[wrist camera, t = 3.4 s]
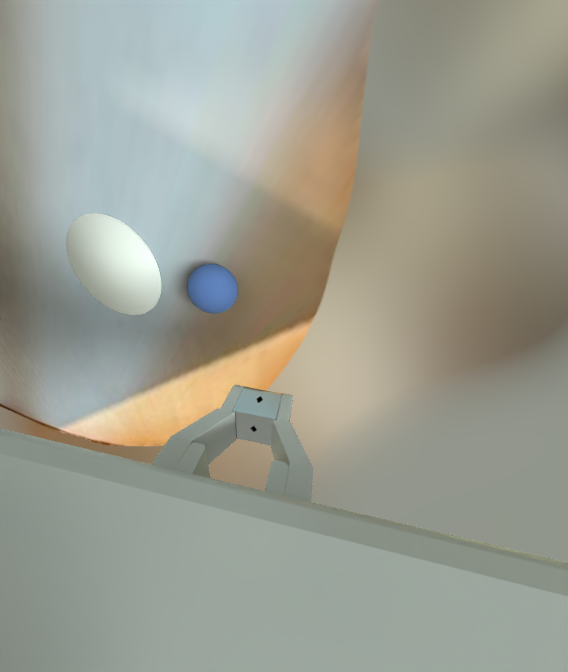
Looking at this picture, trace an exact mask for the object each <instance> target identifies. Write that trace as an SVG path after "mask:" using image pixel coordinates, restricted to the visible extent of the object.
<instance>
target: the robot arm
mask: <svg viewBox="0 0 568 672" xmlns="http://www.w3.org/2000/svg"><path fill="white" fill-rule="evenodd" d="M292 402H293V395H289V394H282V393H276V392H271V391H265V390H259V389H254V388H250V387H244V386H239V385H234V386H233V387H232V389H231V391H230V393H229V395H228V396H227V398H226V400H225V402H224V404H223V405H222V407H221V409H216V410H214V411H213V412H211V413H209V414H208V415H206V416H204V417H203V418H201V419H199V420H198V421H196V422H194V423H193V424H191V425H189V426H188V427H186V428H184V429H183V430H181V431H179V432H178V433H176V434H174V435H173V436H171V437H170V439H169V440H168V441H167V443H166V444H165V446H164V447H163V448H162V450H161V451H160V453H159V454H158V455H157V457H156V458H155V460H154V461H153V462H152V464H148V463H143V462H139V461H135V460H131V459H127V458H122V457H118V456H114V455H110V454H105V453H101V452H97V451H92V450H88V449H84V448H80V447H76V446H71V445H67V444H63V443H59V442H55V441H50V440H46V439H42V438H38V437H34V436H29V435H25V434H21V433H17V432H13V431H8V430H4V429H0V672H568V563H567V562H563V561H559V560H555V559H550V558H546V557H542V556H537V555H533V554H529V553H525V552H520V551H516V550H512V549H508V548H504V547H499V546H495V545H491V544H487V543H482V542H478V541H474V540H470V539H466V538H461V537H457V536H453V535H449V534H444V533H440V532H436V531H431V530H427V529H423V528H419V527H414V526H410V525H406V524H402V523H397V522H393V521H389V520H385V519H381V518H376V517H372V516H368V515H364V514H360V513H355V512H351V511H347V510H343V509H338V508H334V507H330V506H325V505H321V504H317V503H313V502H311V497H312V478H313V467H312V464H311V462H310V460H309V458H308V456H307V454H306V452H305V450H304V448H303V446H302V444H301V442H300V440H299V438H298V436H297V434H296V432H295V430H294V428H293V426H292V424H291V423H290V415H291V409H292ZM236 438H237V439H243V440H248V441H254V442H258V443H262V444H267V445H271V449H272V452H273V455H274V459H275V461H273V462H272V463H271V468H270V472H269V475H268V480H267V484H266V488H265V491H262V490H258V489H254V488H250V487H245V486H241V485H237V484H233V483H228V482H224V481H220V480H215V479H211V478H210V473H209V467H208V465H209V464H210V463H211V462H212V461H213V460H214V459H215V458H216V457H217V456H219V455H220V454H221V453H222V452H223V451H224V450H225V449H226V448H227V447H229V446H230V445H231V443H233V442H234V441H235V440H236Z"/></svg>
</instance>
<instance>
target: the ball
mask: <svg viewBox="0 0 568 672" xmlns="http://www.w3.org/2000/svg"><path fill="white" fill-rule="evenodd" d="M187 290H188V295H189V297H190V299H191V301H192V302H193V304H194V305H195V306H196V307H198V308H199V309H201V310H202V311H205V312H207V313H221V312H224V311H226V310H228V309H229V308H230V307H231V306H232V305H233V304H234V303H235V301H236V299H237V296H238V285H237V282H236V279H235V278H234V276H233V275H232V273H231V272H230V271H229V270H227V269H226V268H224V267H222V266H220V265H216V264H206V265H202V266H200V267H198V268H197V269H196V270H194V271H193V273H192V274H191V275H190V277H189V280H188V284H187Z"/></svg>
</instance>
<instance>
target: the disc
mask: <svg viewBox="0 0 568 672" xmlns="http://www.w3.org/2000/svg"><path fill="white" fill-rule="evenodd" d="M66 246H67V253H68V257H69V260H70V263H71V266H72V268H73V270H74V272H75V274H76V276H77V277H78V279H79V280H80V282H81V283H82V284H83V286H84V287H85V288H86V289H87V291H88V292H89V293H90V294H91V295H92V296H93V297H94V298H96V299H97V300H98V301H99V302H101V303H102V304H103V305H105V306H106V307H108V308H110V309H112V310H114V311H116V312H119V313H122V314H127V315H140V314H144V313H147V312H148V311H150V310H152V309H153V308H154V307H155V306H156V304H157V303H158V301H159V299H160V295H161V290H162V280H161V274H160V270H159V267H158V265H157V262H156V260H155V258H154V256H153V254H152V252H151V251H150V249H149V247H148V246H147V245H146V243H145V242H144V241H143V240H142V239H141V237H140V236H139V235H138V234H137V233H136V232H135V231H134V230H132V229H131V228H130V227H129V226H127V225H126V224H124V223H123V222H121V221H120V220H118V219H116V218H113V217H111V216H108V215H105V214H99V213H89V214H84V215H82V216H80V217H78V218H77V219H75V220H74V221H73V223H72V224H71V226H70V227H69V230H68V233H67V239H66Z"/></svg>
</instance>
